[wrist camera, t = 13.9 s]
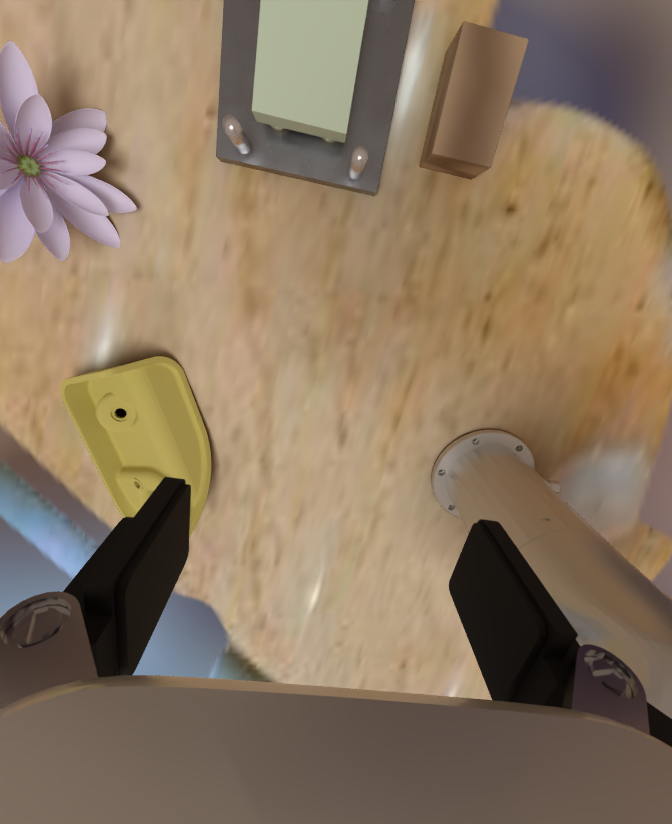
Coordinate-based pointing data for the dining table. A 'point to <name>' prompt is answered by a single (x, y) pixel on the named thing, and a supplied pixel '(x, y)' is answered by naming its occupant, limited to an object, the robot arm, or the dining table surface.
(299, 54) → the board
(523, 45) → the block
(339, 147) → the chassis
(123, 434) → the plastic component
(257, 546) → the dining table surface
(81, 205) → the water lily
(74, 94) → the dining table surface
